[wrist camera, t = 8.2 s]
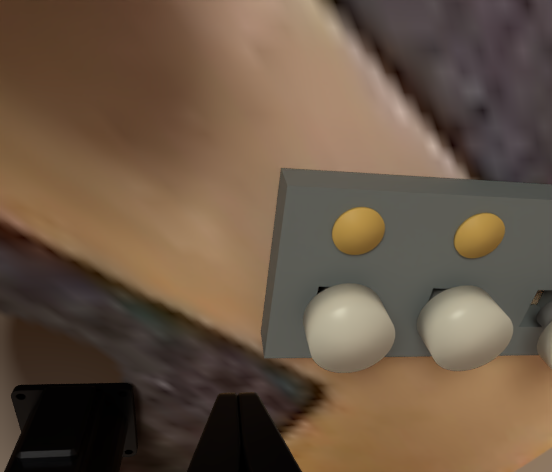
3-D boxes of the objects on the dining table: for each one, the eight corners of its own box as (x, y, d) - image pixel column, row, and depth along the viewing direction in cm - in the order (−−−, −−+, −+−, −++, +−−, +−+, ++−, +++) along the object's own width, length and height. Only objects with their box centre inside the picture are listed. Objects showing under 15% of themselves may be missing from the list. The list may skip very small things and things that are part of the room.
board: (553, 331, 28) (577, 357, 26) (261, 331, 24) (264, 360, 23) (634, 189, 23) (672, 208, 21) (281, 168, 20) (288, 187, 18)
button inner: (362, 323, 24) (383, 372, 21) (292, 323, 23) (303, 373, 20) (379, 264, 22) (405, 308, 19) (302, 262, 21) (317, 307, 18)
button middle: (461, 323, 25) (495, 370, 22) (396, 323, 24) (422, 371, 21) (485, 266, 23) (526, 309, 20) (415, 265, 22) (446, 309, 19)
